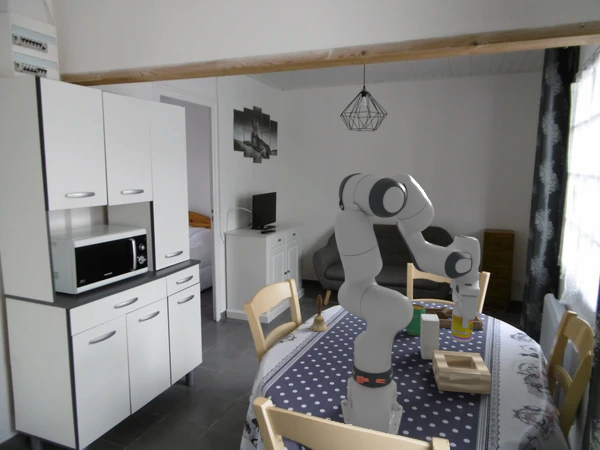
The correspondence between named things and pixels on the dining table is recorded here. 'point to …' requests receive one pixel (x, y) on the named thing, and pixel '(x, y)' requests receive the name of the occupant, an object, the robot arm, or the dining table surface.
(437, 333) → the skincare box
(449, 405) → the dining table surface
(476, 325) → the walnut tray frame
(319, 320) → the hand bell
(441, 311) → the kendama
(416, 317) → the beverage can
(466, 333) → the supplement bottle
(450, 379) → the birch tray frame
